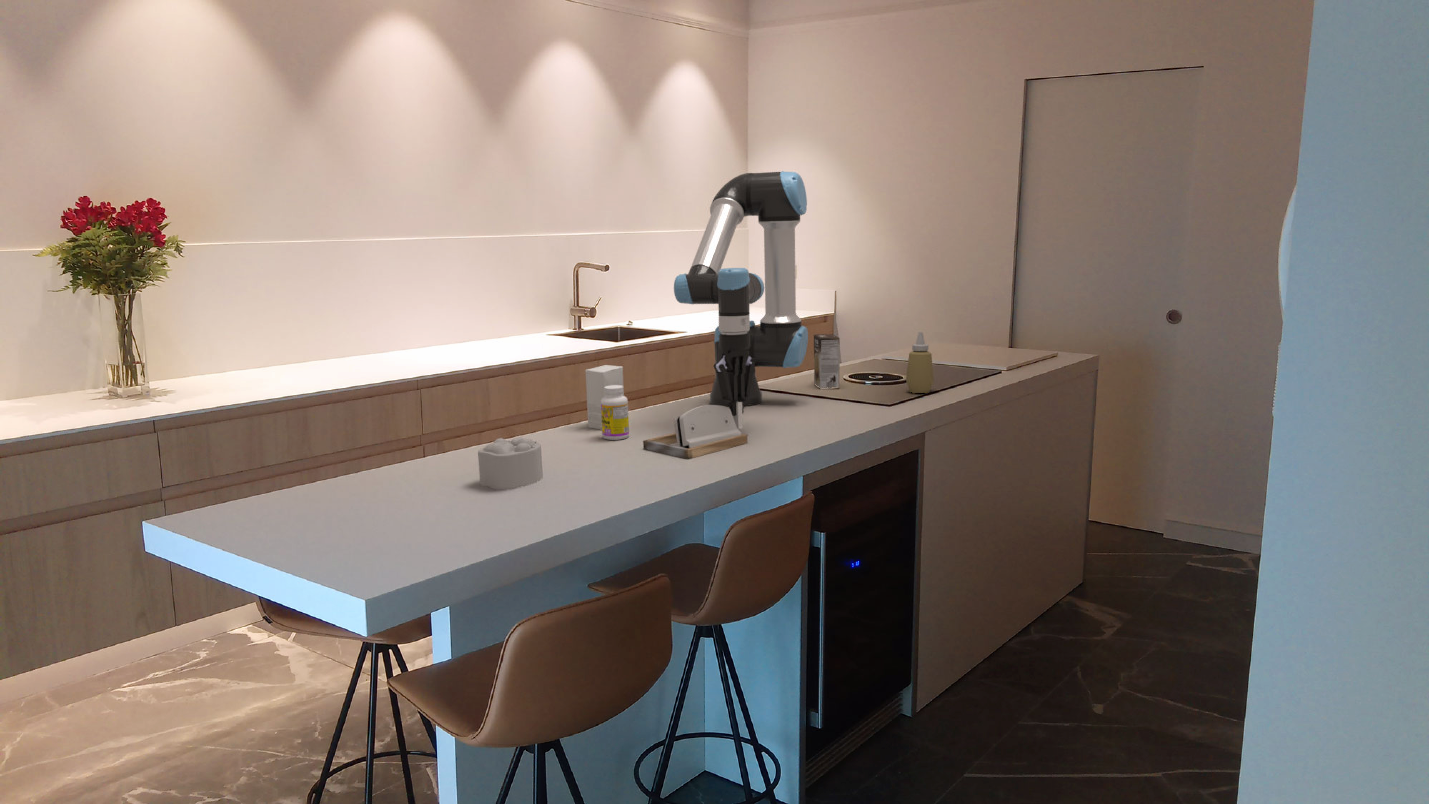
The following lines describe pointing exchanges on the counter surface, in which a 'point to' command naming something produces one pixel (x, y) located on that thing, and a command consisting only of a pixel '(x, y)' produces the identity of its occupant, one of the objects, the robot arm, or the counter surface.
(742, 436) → the frame
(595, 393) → the skincare box
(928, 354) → the squeeze bottle
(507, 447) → the lumpy-topped squat cylinder
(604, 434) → the supplement bottle
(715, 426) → the grey piece
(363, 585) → the counter surface
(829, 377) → the coffee box
